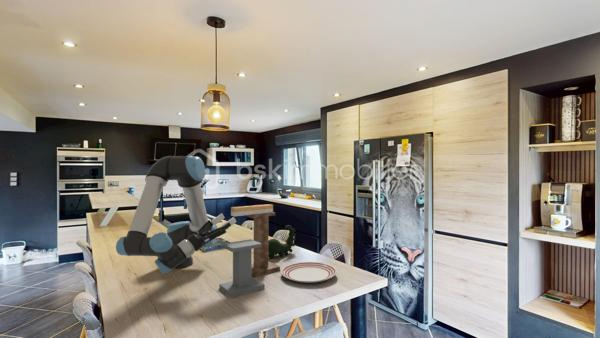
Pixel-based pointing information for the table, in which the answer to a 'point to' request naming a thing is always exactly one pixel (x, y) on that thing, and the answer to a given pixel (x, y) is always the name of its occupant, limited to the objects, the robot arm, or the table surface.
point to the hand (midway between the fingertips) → (229, 217)
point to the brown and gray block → (251, 210)
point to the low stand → (241, 269)
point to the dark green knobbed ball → (280, 248)
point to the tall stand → (261, 253)
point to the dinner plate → (308, 272)
